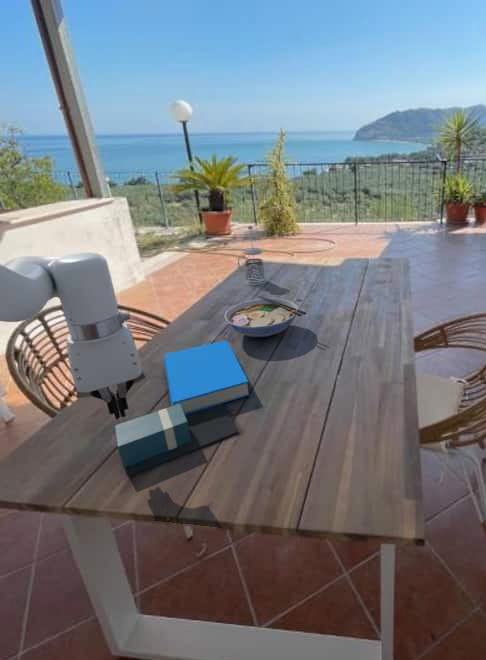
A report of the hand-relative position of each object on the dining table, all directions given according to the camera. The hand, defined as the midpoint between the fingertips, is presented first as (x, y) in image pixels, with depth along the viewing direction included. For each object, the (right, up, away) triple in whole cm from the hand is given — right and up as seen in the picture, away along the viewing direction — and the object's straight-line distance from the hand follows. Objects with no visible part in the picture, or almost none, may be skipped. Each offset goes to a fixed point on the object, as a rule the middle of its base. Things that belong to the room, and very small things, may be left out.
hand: (120, 413), depth 73 cm
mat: (+8, -7, +8) cm, 14 cm away
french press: (-2, +26, +100) cm, 104 cm away
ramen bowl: (+14, +9, +53) cm, 56 cm away
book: (+5, 0, +27) cm, 28 cm away
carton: (-1, -7, +2) cm, 7 cm away
